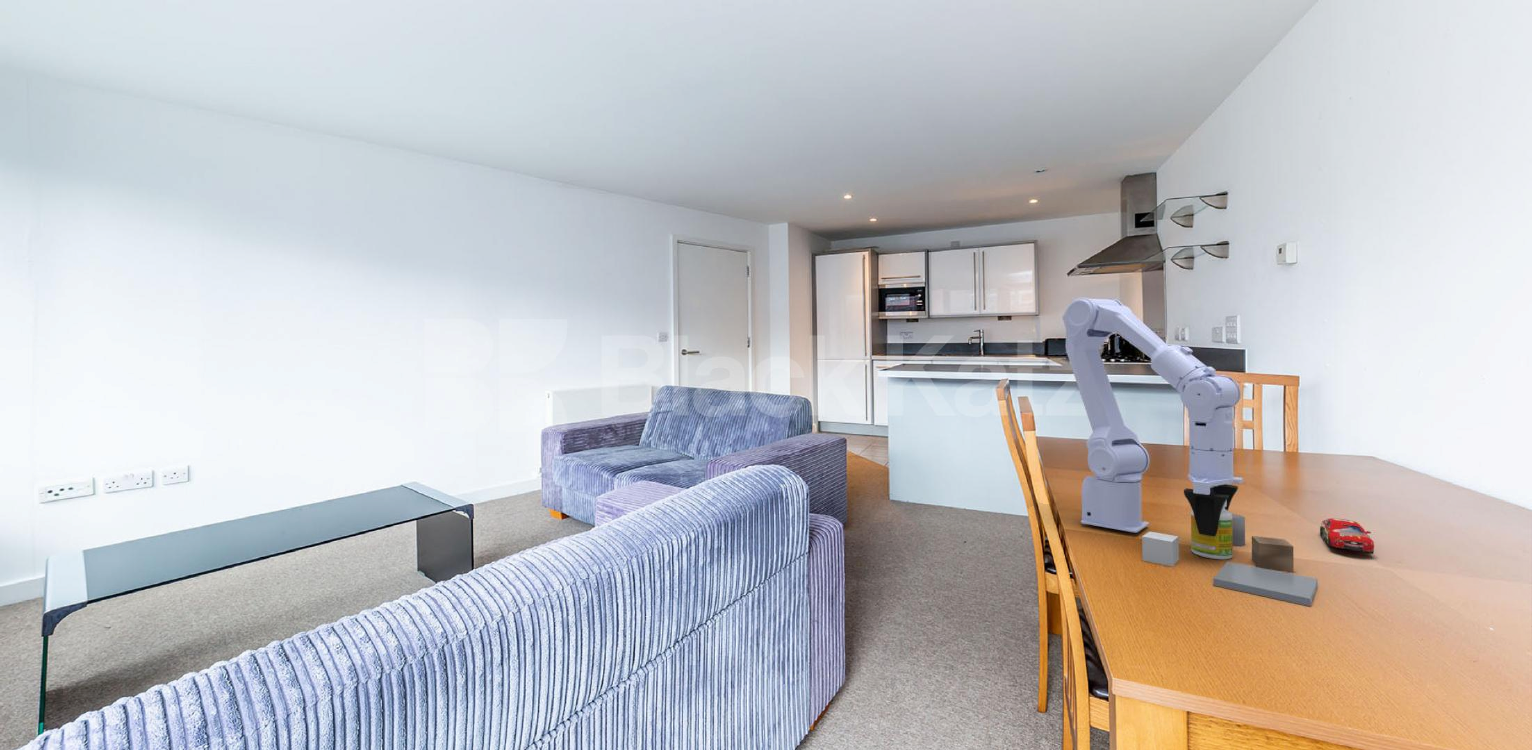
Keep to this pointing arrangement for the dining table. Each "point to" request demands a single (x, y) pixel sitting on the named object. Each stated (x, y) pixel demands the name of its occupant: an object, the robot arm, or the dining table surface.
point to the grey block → (1160, 548)
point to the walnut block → (1272, 554)
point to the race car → (1346, 535)
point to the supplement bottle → (1214, 538)
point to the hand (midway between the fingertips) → (1211, 531)
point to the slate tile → (1267, 583)
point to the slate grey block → (1238, 530)
